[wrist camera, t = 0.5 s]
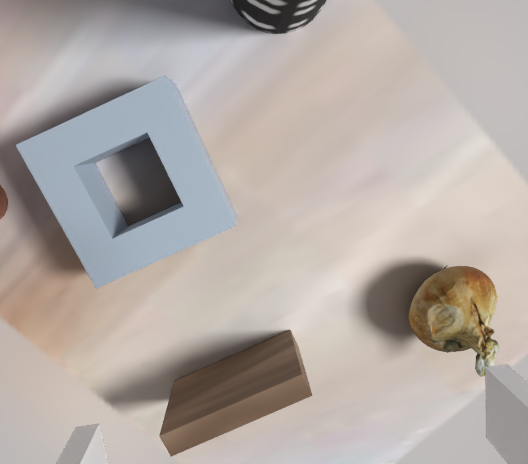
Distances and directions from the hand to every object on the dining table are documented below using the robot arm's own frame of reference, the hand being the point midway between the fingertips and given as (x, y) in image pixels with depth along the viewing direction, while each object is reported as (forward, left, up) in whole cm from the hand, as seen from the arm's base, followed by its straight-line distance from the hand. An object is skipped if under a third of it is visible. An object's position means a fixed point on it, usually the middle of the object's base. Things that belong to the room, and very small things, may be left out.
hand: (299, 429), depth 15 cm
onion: (+11, +13, -26) cm, 31 cm away
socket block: (-10, -7, -25) cm, 28 cm away
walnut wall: (+9, -7, -25) cm, 28 cm away
